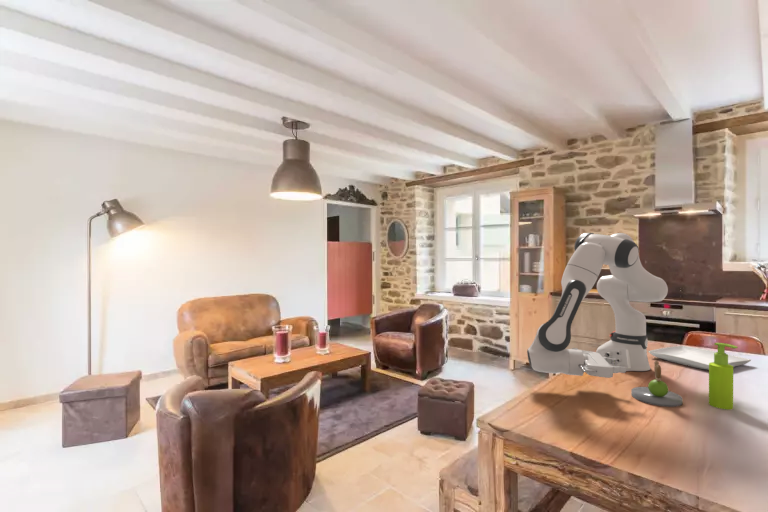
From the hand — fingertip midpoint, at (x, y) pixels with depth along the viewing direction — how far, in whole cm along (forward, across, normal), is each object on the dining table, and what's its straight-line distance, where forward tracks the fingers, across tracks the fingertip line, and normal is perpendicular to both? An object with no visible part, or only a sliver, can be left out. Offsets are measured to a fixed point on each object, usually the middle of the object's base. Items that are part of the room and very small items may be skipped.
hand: (621, 365), depth 134 cm
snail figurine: (+10, -2, +9) cm, 14 cm away
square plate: (+44, +56, +10) cm, 72 cm away
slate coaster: (+10, 0, +10) cm, 14 cm away
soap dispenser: (+28, -2, +10) cm, 30 cm away
